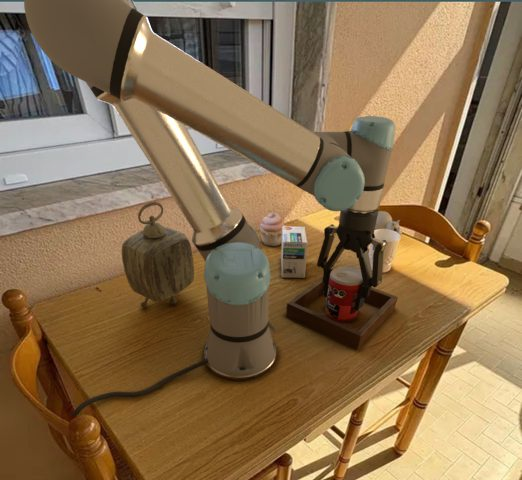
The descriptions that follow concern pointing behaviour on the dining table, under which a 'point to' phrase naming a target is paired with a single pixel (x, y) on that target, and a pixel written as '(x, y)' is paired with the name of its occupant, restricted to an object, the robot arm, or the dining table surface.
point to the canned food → (343, 293)
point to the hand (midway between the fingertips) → (343, 300)
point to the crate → (335, 328)
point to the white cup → (390, 248)
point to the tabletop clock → (157, 260)
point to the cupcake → (271, 229)
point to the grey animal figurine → (387, 222)
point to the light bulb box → (293, 252)
